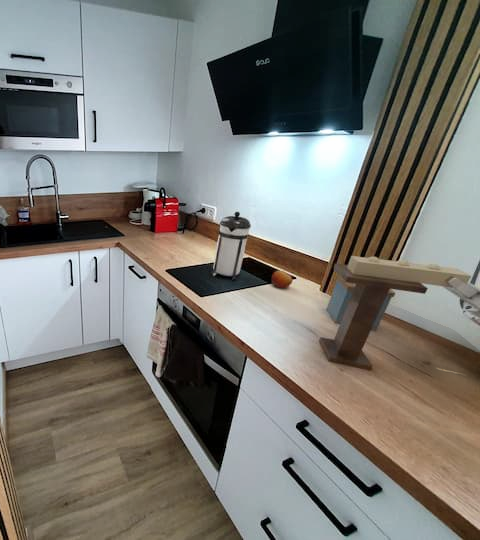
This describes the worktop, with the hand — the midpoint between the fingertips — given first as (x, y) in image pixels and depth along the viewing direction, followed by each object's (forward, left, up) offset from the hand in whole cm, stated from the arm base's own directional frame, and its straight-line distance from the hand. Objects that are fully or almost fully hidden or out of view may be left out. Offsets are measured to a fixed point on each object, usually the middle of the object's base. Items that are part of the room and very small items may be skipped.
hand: (442, 274), depth 69 cm
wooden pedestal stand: (+12, 0, -28) cm, 31 cm away
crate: (+3, -24, -28) cm, 37 cm away
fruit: (+23, -44, -28) cm, 57 cm away
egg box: (+7, 0, -2) cm, 8 cm away
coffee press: (+46, -49, -28) cm, 73 cm away
